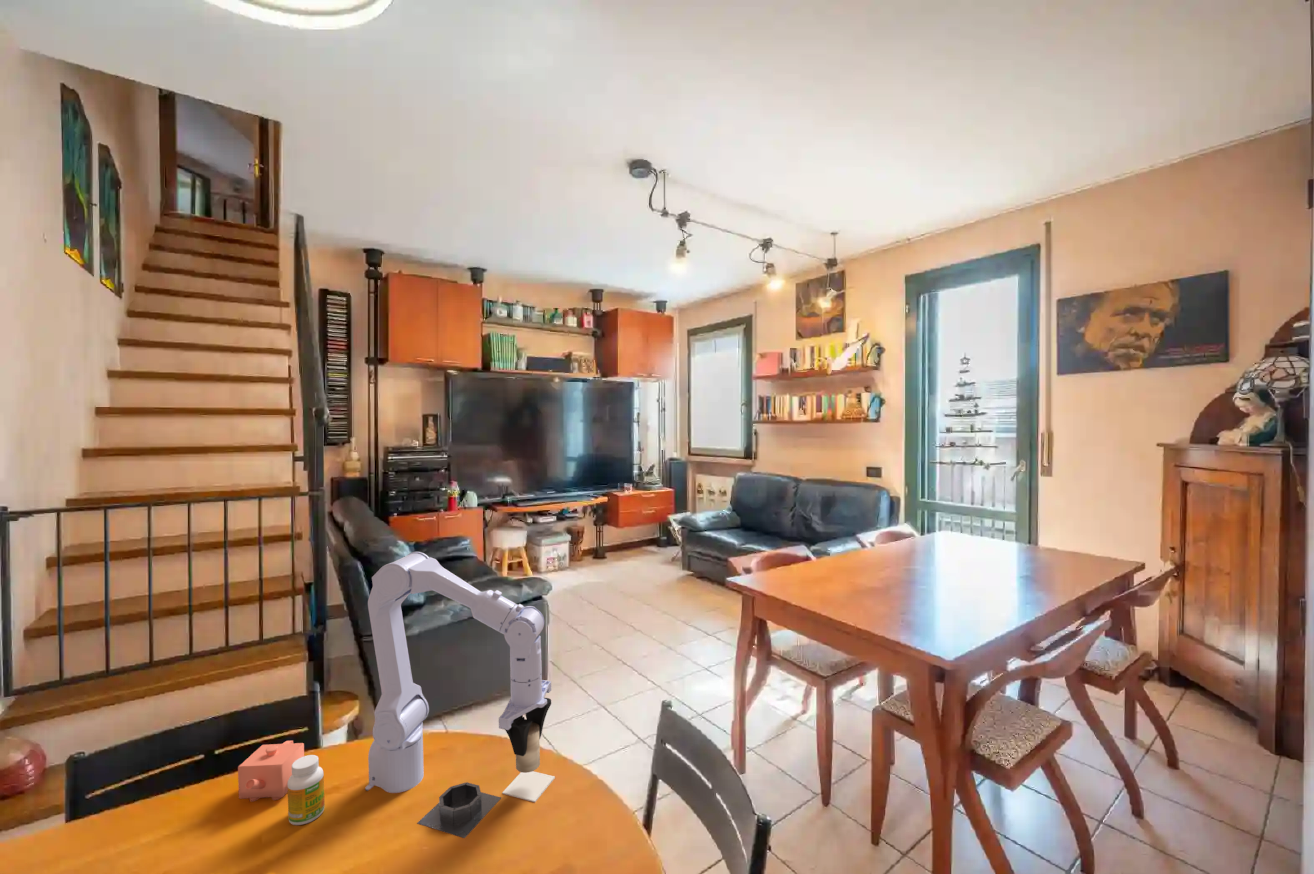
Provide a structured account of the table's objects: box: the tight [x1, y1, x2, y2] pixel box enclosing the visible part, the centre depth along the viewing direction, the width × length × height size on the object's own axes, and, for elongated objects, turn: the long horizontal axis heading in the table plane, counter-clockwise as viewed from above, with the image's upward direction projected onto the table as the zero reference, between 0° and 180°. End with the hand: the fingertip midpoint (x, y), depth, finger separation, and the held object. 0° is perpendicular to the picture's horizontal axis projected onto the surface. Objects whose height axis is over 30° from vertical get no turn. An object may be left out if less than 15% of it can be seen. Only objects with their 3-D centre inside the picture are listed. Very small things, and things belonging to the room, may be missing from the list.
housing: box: [416, 781, 502, 839], centre depth 95 cm, size 10×10×3 cm
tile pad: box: [501, 770, 556, 803], centre depth 101 cm, size 7×7×1 cm
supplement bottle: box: [287, 754, 325, 826], centre depth 95 cm, size 5×5×10 cm
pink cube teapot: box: [237, 740, 305, 802], centre depth 101 cm, size 8×12×8 cm, turn 4°
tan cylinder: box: [515, 722, 541, 773], centre depth 101 cm, size 4×4×7 cm
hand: (527, 746), depth 101 cm, fingers closed on tan cylinder, 4 cm apart
